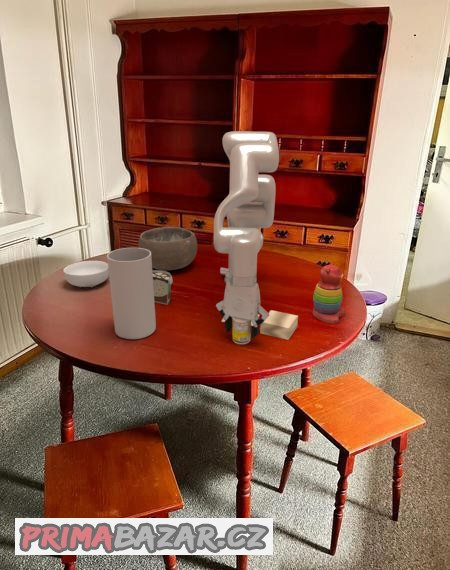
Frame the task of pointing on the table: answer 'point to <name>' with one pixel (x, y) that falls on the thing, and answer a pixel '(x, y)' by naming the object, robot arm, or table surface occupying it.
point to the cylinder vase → (132, 292)
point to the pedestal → (279, 325)
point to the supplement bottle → (241, 330)
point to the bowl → (169, 247)
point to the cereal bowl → (86, 273)
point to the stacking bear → (329, 295)
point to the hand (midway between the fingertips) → (241, 333)
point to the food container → (162, 286)
